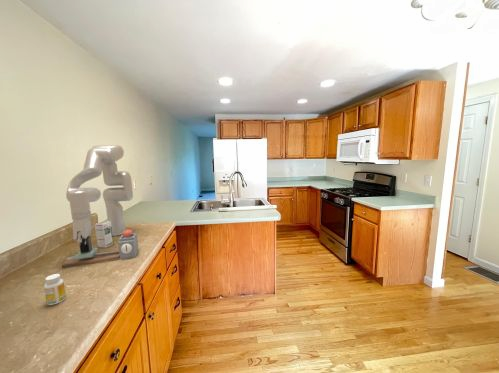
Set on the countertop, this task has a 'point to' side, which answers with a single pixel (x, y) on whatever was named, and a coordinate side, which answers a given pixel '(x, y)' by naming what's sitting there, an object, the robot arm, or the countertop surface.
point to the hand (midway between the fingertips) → (86, 249)
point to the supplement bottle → (54, 289)
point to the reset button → (127, 233)
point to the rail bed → (92, 259)
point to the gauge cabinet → (128, 246)
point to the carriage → (90, 252)
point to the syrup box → (104, 234)
